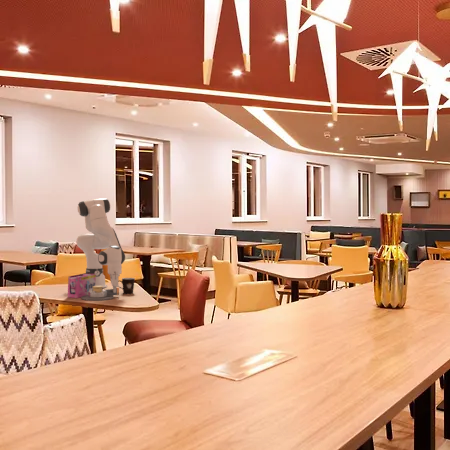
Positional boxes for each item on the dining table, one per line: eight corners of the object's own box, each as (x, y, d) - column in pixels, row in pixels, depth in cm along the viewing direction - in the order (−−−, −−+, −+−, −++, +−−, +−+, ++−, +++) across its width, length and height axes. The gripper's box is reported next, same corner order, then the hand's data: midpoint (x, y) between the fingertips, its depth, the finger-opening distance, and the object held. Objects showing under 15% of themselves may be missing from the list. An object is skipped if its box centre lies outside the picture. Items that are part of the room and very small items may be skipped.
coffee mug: (136, 292, 388) (136, 277, 387) (132, 294, 379) (132, 279, 379) (119, 292, 389) (119, 277, 389) (115, 293, 380) (115, 279, 380)
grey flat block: (92, 297, 353) (92, 290, 353) (86, 295, 362) (86, 288, 362) (121, 295, 363) (121, 288, 363) (115, 293, 373) (115, 286, 372)
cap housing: (77, 297, 364) (77, 285, 364) (108, 294, 375) (108, 283, 374) (86, 301, 347) (86, 289, 347) (118, 299, 357) (118, 287, 357)
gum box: (77, 298, 359) (77, 277, 358) (66, 297, 361) (66, 276, 360) (95, 293, 382) (96, 273, 381) (85, 292, 384) (85, 272, 383)
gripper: (120, 272, 354) (120, 294, 354) (118, 269, 374) (118, 290, 374) (110, 272, 353) (110, 294, 353) (108, 269, 372) (108, 290, 373)
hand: (114, 292), depth 364 cm, fingers closed
